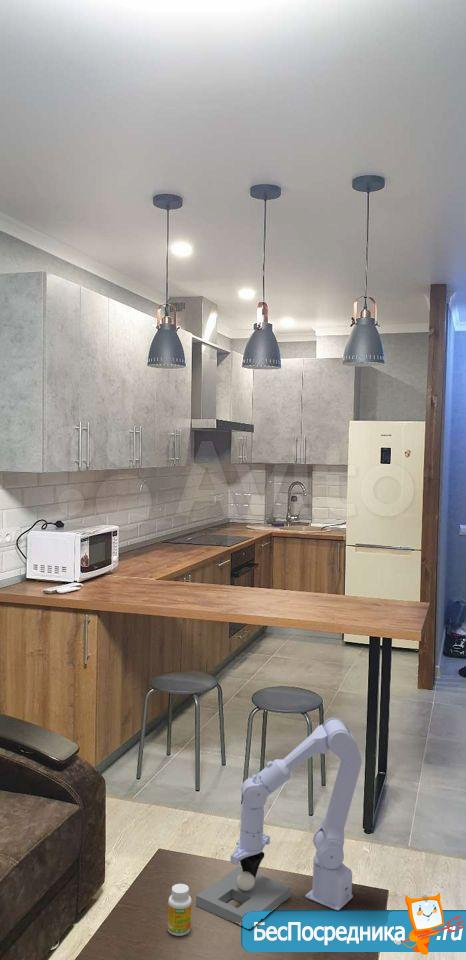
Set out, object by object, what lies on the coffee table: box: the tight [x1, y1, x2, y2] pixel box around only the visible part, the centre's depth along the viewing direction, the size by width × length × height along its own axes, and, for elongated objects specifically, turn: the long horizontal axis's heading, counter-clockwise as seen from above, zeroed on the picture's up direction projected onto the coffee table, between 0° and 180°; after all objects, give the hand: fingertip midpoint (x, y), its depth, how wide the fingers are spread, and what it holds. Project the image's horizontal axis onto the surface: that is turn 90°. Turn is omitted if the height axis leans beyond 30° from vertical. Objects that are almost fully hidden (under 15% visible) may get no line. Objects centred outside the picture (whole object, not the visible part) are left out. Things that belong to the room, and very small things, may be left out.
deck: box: [195, 865, 291, 923], centre depth 192 cm, size 16×18×2 cm
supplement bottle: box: [167, 883, 192, 937], centre depth 180 cm, size 5×5×10 cm
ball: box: [237, 871, 255, 891], centre depth 193 cm, size 4×4×4 cm
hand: (249, 881), depth 195 cm, fingers closed, pressing on ball
